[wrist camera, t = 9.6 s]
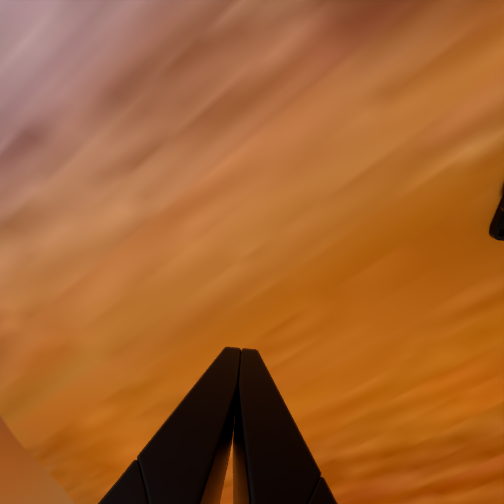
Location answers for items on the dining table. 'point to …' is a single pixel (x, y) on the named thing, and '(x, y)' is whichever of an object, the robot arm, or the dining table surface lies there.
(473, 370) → the dining table surface
